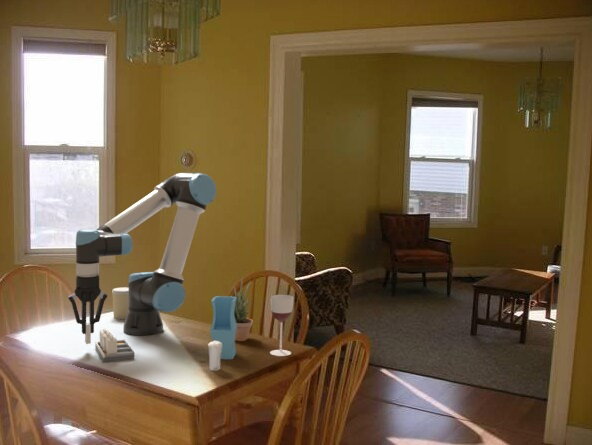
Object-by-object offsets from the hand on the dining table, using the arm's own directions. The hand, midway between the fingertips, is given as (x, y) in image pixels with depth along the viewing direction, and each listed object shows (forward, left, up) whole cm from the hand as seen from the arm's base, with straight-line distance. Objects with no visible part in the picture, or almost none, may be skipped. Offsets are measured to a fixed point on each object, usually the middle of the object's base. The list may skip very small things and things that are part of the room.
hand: (87, 342), depth 214 cm
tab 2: (-6, +5, -1) cm, 8 cm away
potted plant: (-55, +2, -4) cm, 55 cm away
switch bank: (-8, +5, -3) cm, 10 cm away
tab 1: (-6, 0, -1) cm, 6 cm away
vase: (-42, +20, -4) cm, 47 cm away
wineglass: (-62, +24, -4) cm, 67 cm away
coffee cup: (-21, -47, -4) cm, 51 cm away
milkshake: (-34, +33, -4) cm, 48 cm away
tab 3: (-6, +11, -1) cm, 12 cm away
